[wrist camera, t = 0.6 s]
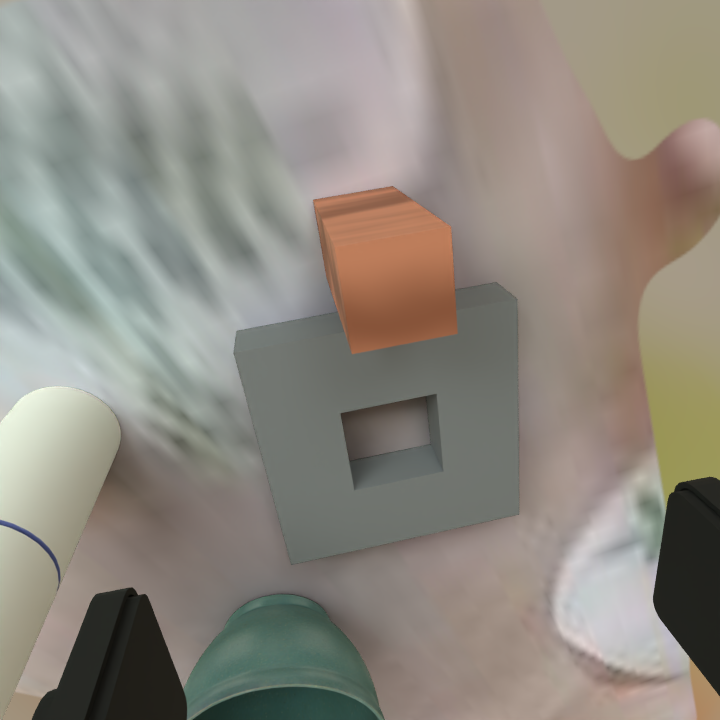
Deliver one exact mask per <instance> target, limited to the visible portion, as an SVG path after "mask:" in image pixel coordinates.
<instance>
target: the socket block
mask: <svg viewBox="0 0 720 720" xmlns="http://www.w3.org/2000/svg"><path fill="white" fill-rule="evenodd" d="M455 299H456V315H457V331H458V334H454V335H449V336H444V337H439V338H433V339H428V340H423V341H418V342H413V343H408V344H402V345H397V346H392V347H387V348H382V349H377V350H371V351H366V352H361V353H356V354H352V353H351V350H350V347H349V344H348V341H347V338H346V335H345V332H344V329H343V326H342V323H341V320H340V317H339V313H338V312H335V313H330V314H325V315H319V316H314V317H309V318H303V319H298V320H293V321H287V322H282V323H277V324H271V325H266V326H261V327H255V328H250V329H245V330H239V331H237V332H236V340H235V347H234V356H235V359H236V363H237V367H238V370H239V374H240V378H241V381H242V385H243V389H244V393H245V396H246V400H247V404H248V407H249V411H250V415H251V418H252V422H253V426H254V429H255V433H256V437H257V440H258V444H259V448H260V451H261V455H262V459H263V463H264V466H265V470H266V474H267V477H268V481H269V485H270V488H271V492H272V496H273V499H274V503H275V507H276V510H277V514H278V518H279V521H280V525H281V529H282V533H283V536H284V540H285V544H286V547H287V551H288V555H289V558H290V562H291V565H293V564H298V563H302V562H307V561H311V560H316V559H320V558H325V557H329V556H334V555H338V554H343V553H347V552H352V551H356V550H361V549H365V548H370V547H374V546H379V545H383V544H388V543H392V542H397V541H401V540H406V539H410V538H415V537H419V536H424V535H429V534H433V533H438V532H442V531H447V530H451V529H456V528H460V527H465V526H469V525H474V524H478V523H483V522H487V521H492V520H496V519H501V518H505V517H510V516H514V515H519V426H518V309H517V298H516V297H514V296H513V295H512V294H511V293H509V292H508V291H507V290H506V289H504V288H503V287H502V286H501V285H499V284H498V283H497V282H496V283H490V284H485V285H480V286H474V287H469V288H464V289H458V290H455ZM423 396H426V402H427V412H428V422H429V432H430V443H431V444H430V445H425V446H420V447H415V448H411V449H406V450H401V451H396V452H391V453H387V454H382V455H377V456H372V457H367V458H363V459H358V460H353V461H349V458H348V452H347V447H346V442H345V436H344V431H343V425H342V420H341V414H340V413H344V412H349V411H353V410H358V409H363V408H368V407H373V406H378V405H383V404H388V403H393V402H398V401H403V400H408V399H413V398H418V397H423Z"/></svg>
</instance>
